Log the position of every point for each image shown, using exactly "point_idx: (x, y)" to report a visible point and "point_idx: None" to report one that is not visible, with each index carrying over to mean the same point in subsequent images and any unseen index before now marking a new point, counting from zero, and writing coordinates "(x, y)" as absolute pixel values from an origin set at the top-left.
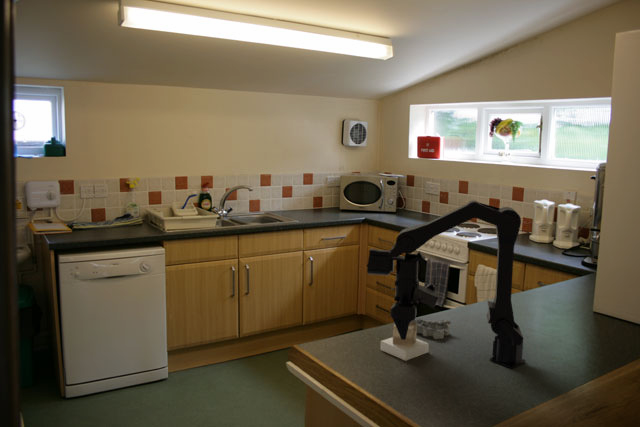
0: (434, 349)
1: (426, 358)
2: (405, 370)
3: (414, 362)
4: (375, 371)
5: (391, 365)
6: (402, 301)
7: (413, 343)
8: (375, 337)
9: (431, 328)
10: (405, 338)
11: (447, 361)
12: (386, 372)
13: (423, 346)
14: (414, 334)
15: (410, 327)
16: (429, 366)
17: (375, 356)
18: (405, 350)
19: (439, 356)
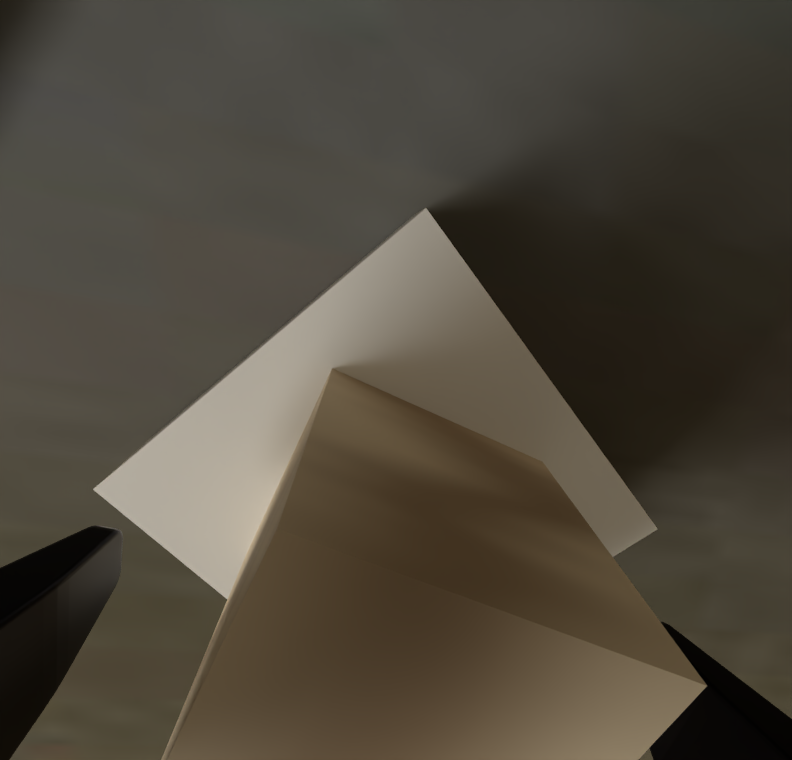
0: (321, 110)
1: (574, 270)
2: (785, 496)
3: (649, 403)
4: (745, 676)
5: (672, 580)
6: None
7: (452, 424)
8: (80, 649)
9: None
10: (686, 640)
11: (688, 25)
12: (779, 618)
13: (487, 295)
14: (437, 467)
15: (622, 699)
16: (764, 278)
17: None
18: (630, 528)
19: (535, 97)
